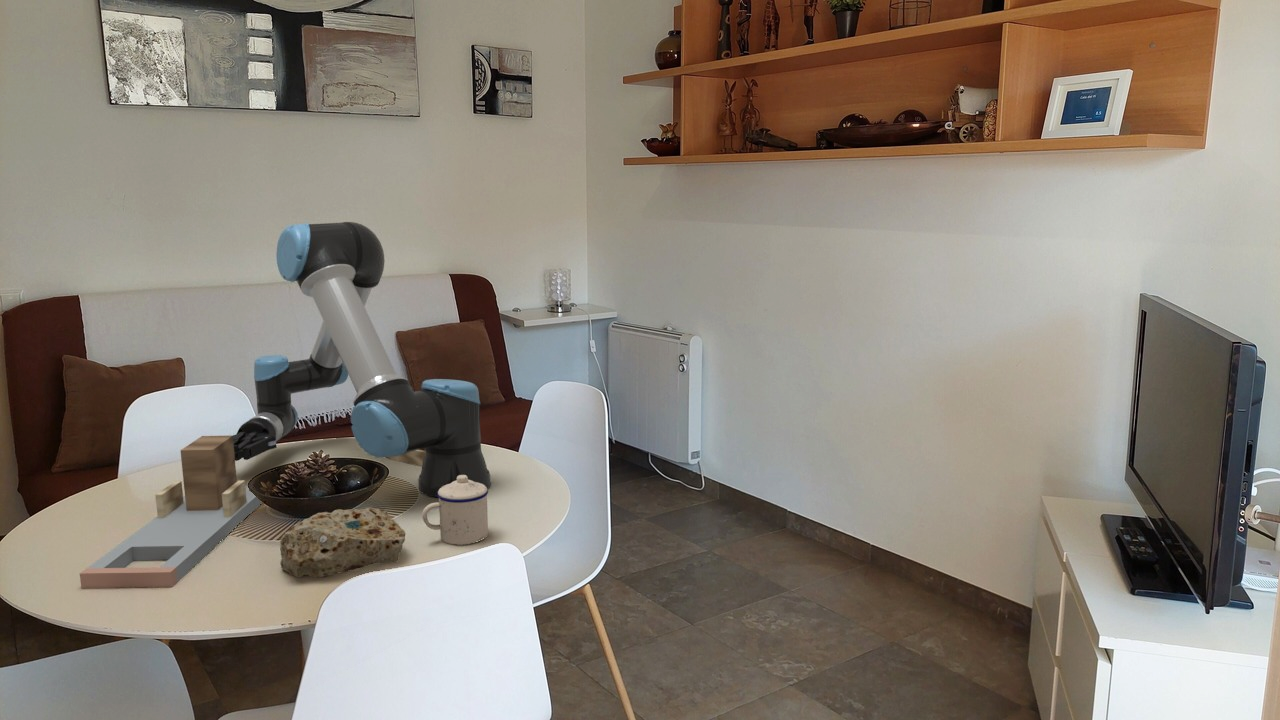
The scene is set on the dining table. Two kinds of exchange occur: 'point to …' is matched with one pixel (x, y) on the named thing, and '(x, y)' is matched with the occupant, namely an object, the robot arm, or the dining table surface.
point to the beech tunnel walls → (174, 498)
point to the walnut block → (208, 471)
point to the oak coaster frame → (410, 457)
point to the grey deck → (165, 547)
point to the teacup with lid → (461, 511)
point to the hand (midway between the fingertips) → (215, 464)
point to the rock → (341, 542)
